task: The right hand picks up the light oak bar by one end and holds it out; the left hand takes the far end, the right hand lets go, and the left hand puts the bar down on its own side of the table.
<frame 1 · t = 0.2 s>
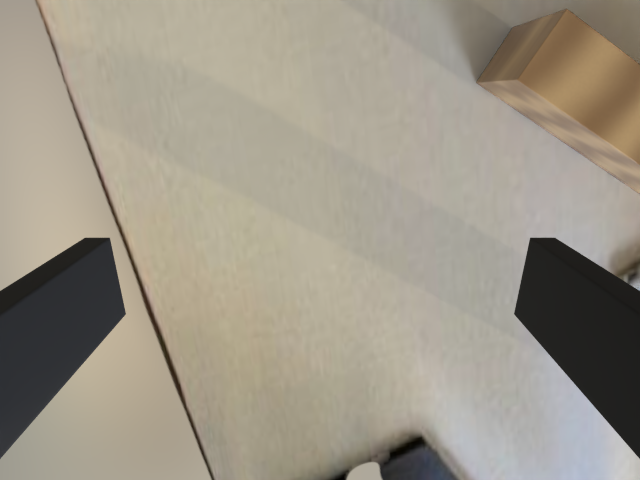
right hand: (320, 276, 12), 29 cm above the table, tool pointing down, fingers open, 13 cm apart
bar: (589, 122, 38), on the table
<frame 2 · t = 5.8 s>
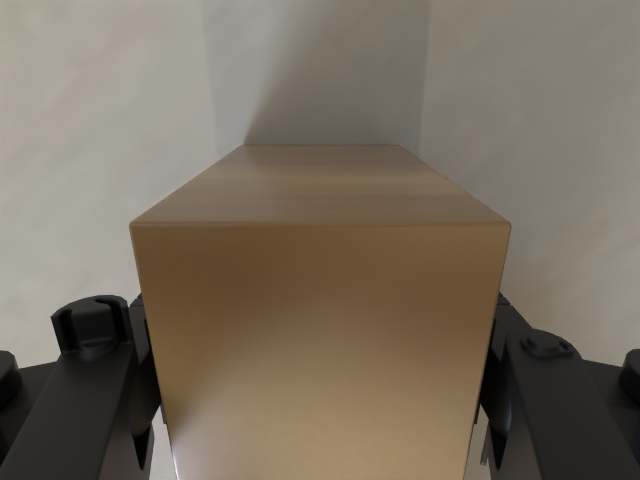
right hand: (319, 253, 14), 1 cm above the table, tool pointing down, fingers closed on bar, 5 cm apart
bar: (320, 417, 18), on the table, touching right hand
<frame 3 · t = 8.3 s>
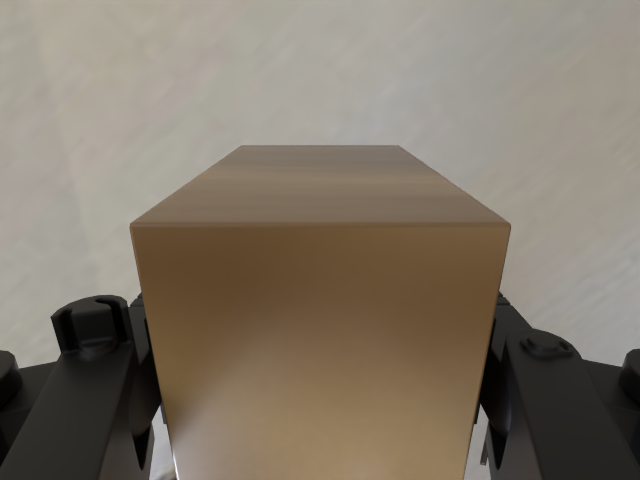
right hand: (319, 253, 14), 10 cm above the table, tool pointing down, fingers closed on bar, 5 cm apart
bar: (320, 417, 18), point 9 cm above the table, touching right hand
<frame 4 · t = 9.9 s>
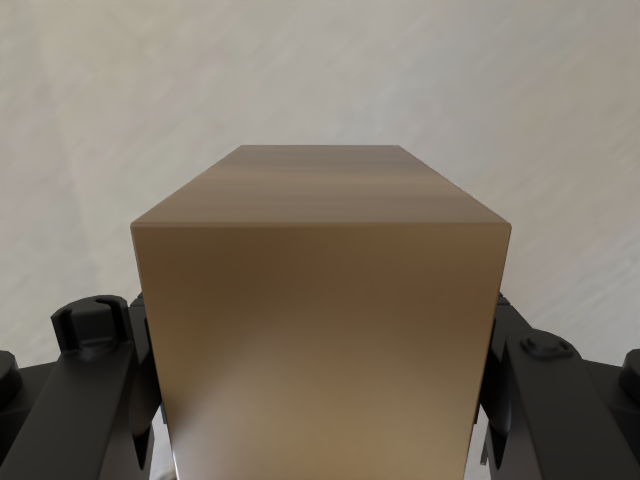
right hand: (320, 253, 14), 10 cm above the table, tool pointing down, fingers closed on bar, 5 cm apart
bar: (319, 417, 18), point 9 cm above the table, touching right hand, left hand
when the right hand's fingers open (10 cm above the table, at t = 10.8 s): bar stays where it is, held by the left hand.
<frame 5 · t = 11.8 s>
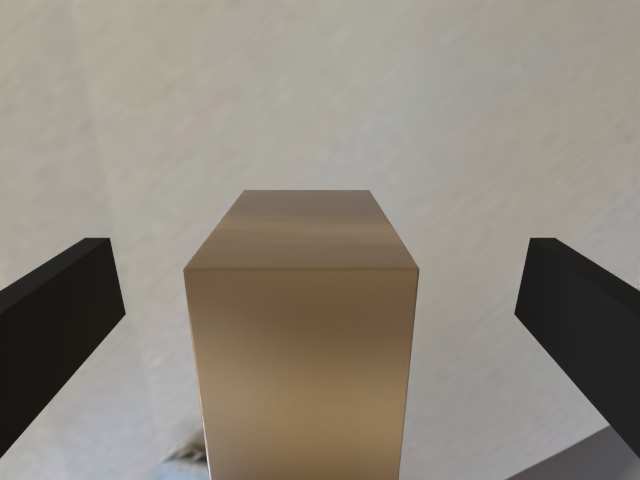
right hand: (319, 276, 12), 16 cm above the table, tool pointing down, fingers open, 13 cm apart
bar: (308, 412, 21), point 11 cm above the table, touching left hand
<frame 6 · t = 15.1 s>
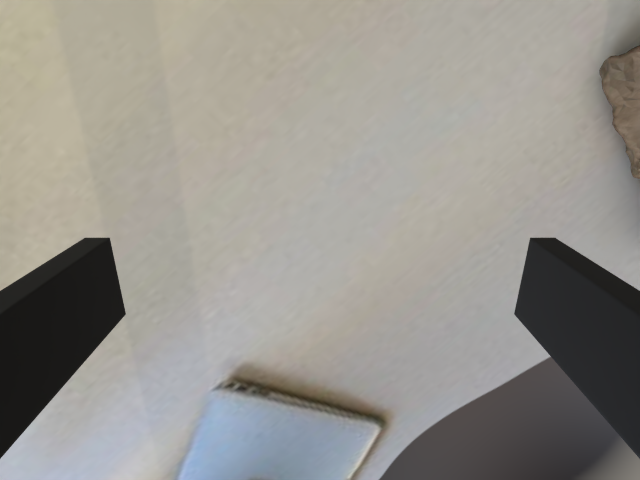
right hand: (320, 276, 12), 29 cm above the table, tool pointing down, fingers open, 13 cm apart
when the left hand's fingers open (5 cm above the table, at t = 20.7 s): bar drops 1 cm, on the table.
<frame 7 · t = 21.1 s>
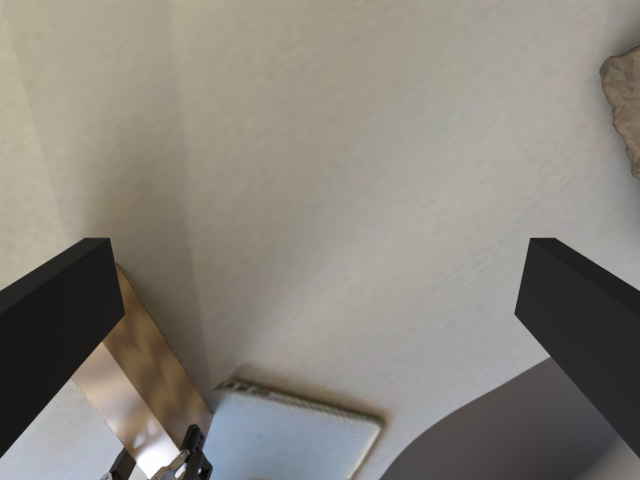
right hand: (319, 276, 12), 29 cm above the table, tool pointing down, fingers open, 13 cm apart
bar: (150, 352, 48), on the table
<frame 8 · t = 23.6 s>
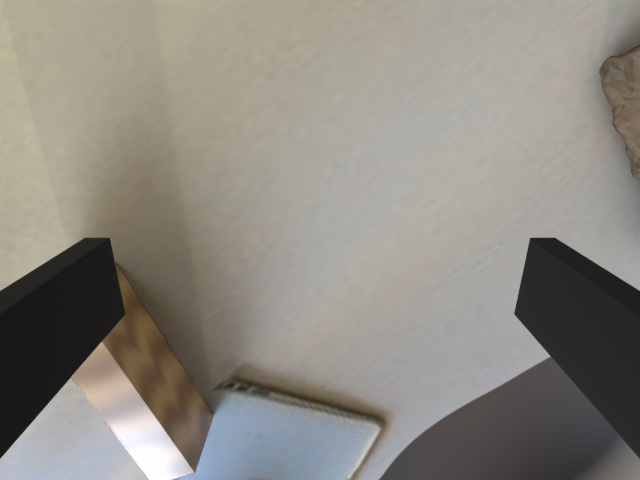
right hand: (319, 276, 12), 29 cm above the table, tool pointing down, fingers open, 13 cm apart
bar: (150, 352, 48), on the table
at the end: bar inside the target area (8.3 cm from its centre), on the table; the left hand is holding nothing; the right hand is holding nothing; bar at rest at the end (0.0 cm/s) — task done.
